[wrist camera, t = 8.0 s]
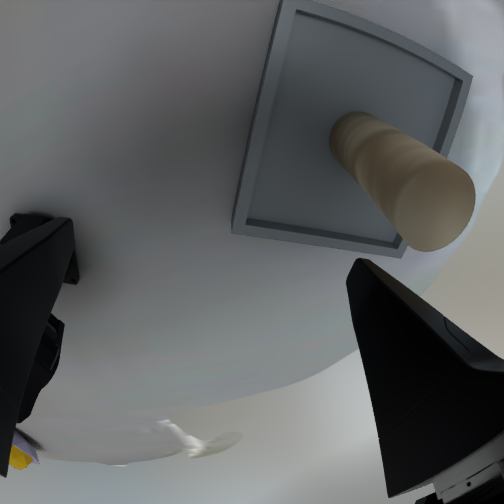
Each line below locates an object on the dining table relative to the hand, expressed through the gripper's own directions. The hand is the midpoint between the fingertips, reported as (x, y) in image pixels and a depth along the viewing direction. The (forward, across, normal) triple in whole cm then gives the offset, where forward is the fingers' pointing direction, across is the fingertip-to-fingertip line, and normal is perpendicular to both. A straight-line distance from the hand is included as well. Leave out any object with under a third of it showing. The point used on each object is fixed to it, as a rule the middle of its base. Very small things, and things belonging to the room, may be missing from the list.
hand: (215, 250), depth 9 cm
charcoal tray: (+12, -9, -2) cm, 15 cm away
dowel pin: (+12, -9, -2) cm, 15 cm away
